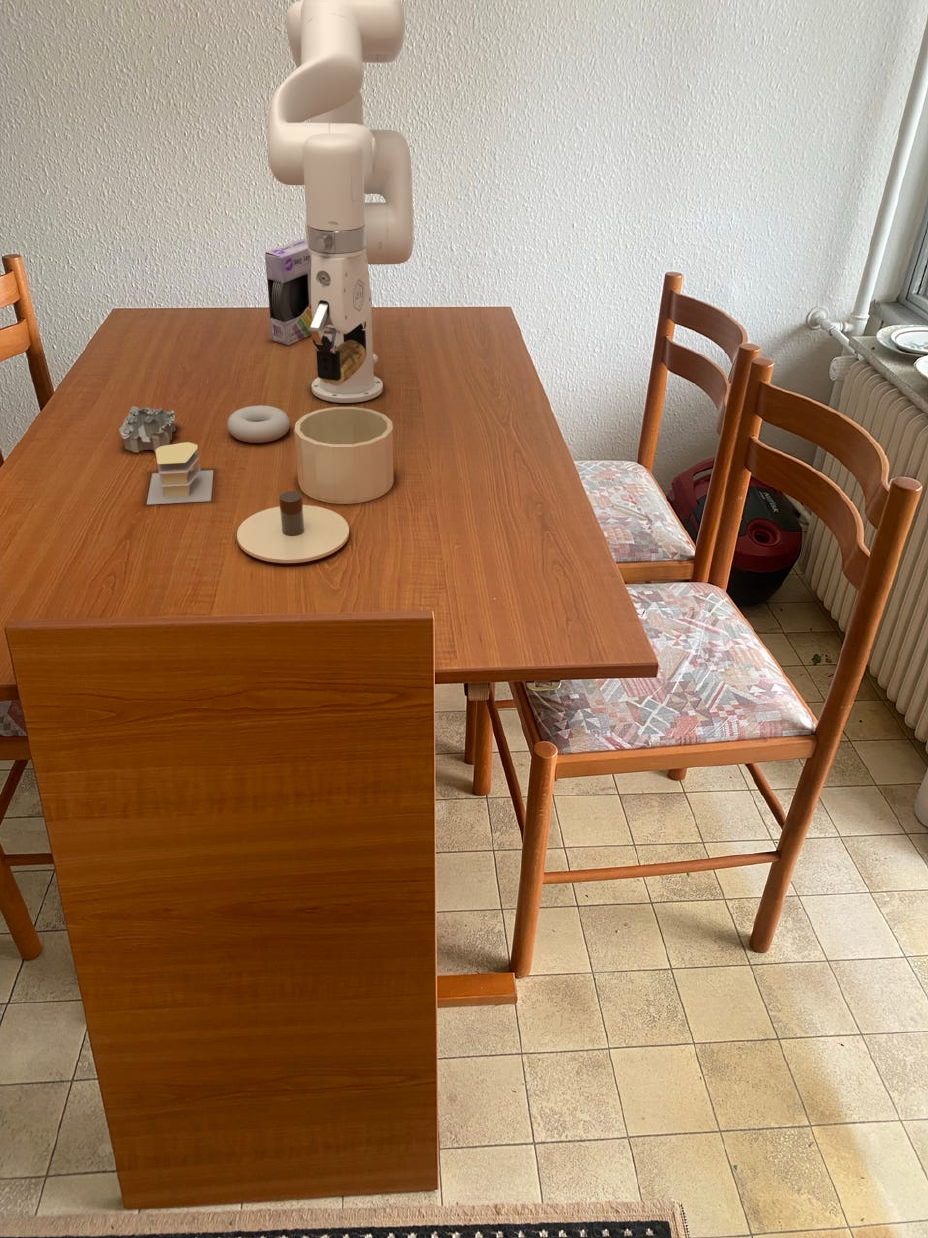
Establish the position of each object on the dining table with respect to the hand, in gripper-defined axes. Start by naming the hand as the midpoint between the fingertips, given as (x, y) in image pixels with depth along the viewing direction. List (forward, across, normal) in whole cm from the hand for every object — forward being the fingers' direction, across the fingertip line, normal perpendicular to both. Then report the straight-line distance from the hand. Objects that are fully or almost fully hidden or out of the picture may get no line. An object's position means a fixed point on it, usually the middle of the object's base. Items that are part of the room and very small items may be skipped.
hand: (342, 367), depth 144 cm
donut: (+18, +11, +20) cm, 29 cm away
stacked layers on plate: (+18, -10, +22) cm, 30 cm away
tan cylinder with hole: (+1, 0, 0) cm, 1 cm away
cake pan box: (+18, +59, +34) cm, 70 cm away
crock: (+18, 0, 0) cm, 18 cm away
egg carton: (+18, +3, +35) cm, 40 cm away
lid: (+17, -18, 0) cm, 25 cm away
